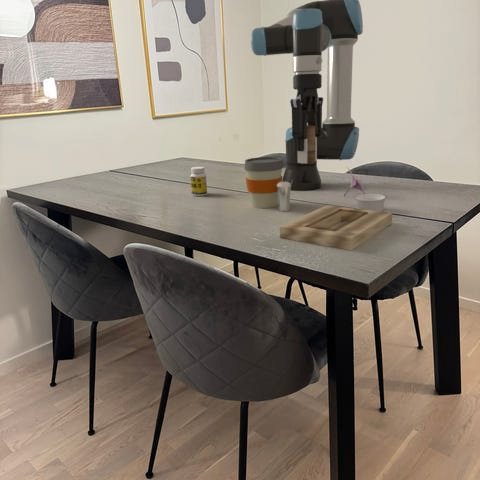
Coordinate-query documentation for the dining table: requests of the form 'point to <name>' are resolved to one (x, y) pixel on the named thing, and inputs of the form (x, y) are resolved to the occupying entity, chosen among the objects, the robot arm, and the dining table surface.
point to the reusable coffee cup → (263, 180)
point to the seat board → (343, 236)
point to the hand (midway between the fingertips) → (307, 161)
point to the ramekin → (370, 202)
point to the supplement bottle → (198, 181)
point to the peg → (310, 144)
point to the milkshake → (284, 195)
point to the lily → (355, 184)
